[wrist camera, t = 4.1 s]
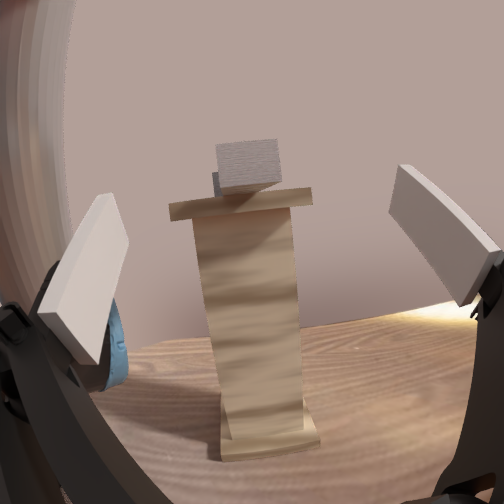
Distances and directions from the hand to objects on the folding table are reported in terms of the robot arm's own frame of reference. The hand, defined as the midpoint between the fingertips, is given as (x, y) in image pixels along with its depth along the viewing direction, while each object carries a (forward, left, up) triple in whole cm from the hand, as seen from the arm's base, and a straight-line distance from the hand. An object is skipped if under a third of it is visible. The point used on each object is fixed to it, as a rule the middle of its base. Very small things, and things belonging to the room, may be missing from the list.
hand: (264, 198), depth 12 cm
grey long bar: (-5, +12, +1) cm, 13 cm away
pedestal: (-7, +17, -29) cm, 35 cm away
